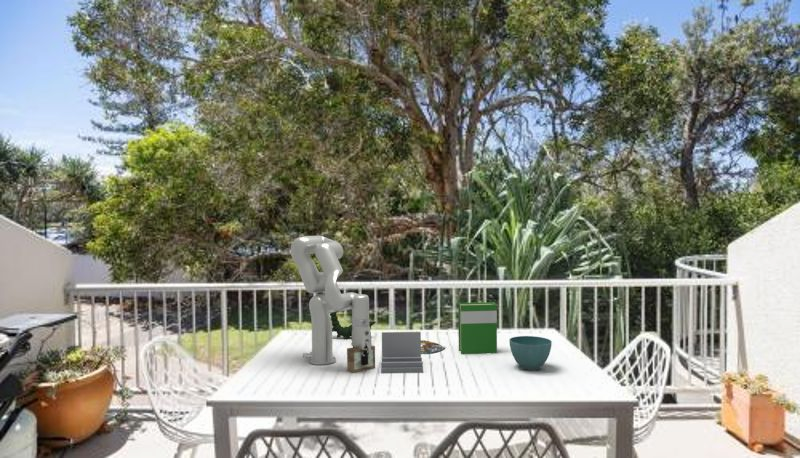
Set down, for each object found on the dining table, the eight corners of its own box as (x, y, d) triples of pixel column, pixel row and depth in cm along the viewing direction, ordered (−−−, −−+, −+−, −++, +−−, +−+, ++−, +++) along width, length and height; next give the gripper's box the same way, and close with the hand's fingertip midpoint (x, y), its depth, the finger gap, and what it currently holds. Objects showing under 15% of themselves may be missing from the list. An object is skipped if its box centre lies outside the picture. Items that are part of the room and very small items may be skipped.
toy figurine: (332, 343, 301) (377, 338, 302) (328, 309, 301) (373, 304, 301) (333, 339, 311) (377, 334, 311) (330, 306, 310) (374, 301, 311)
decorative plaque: (393, 336, 301) (448, 337, 295) (393, 341, 301) (448, 342, 295) (381, 350, 272) (441, 352, 266) (381, 356, 272) (441, 357, 266)
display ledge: (381, 373, 238) (381, 340, 238) (382, 362, 256) (381, 332, 256) (422, 372, 239) (422, 340, 238) (420, 361, 256) (420, 331, 256)
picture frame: (352, 373, 239) (352, 350, 239) (347, 371, 242) (347, 348, 242) (375, 368, 246) (375, 346, 246) (370, 366, 249) (370, 344, 249)
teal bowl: (524, 360, 257) (524, 333, 257) (559, 367, 244) (559, 340, 244) (501, 367, 244) (501, 340, 244) (537, 376, 231) (537, 347, 231)
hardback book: (461, 354, 269) (461, 305, 268) (458, 350, 276) (458, 302, 275) (497, 353, 270) (496, 304, 269) (493, 349, 277) (493, 302, 276)
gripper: (378, 324, 239) (378, 366, 239) (357, 318, 253) (358, 358, 253) (363, 326, 234) (364, 369, 235) (343, 320, 248) (344, 360, 249)
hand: (361, 362), depth 244 cm, fingers open, 5 cm apart
